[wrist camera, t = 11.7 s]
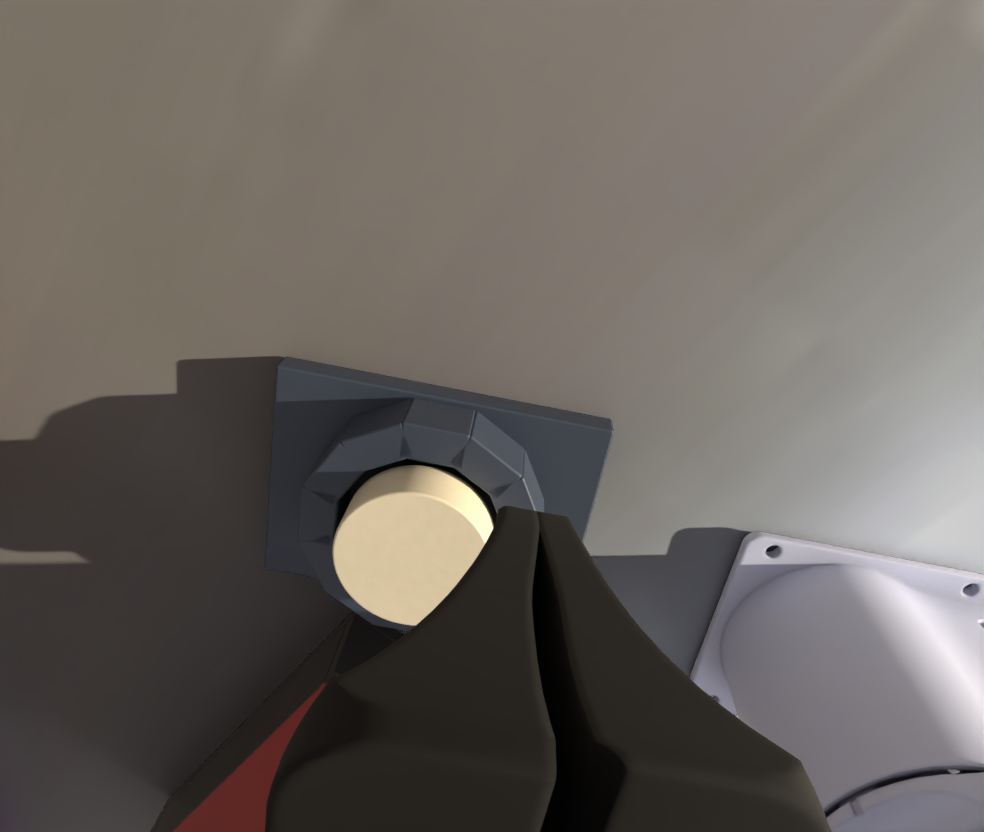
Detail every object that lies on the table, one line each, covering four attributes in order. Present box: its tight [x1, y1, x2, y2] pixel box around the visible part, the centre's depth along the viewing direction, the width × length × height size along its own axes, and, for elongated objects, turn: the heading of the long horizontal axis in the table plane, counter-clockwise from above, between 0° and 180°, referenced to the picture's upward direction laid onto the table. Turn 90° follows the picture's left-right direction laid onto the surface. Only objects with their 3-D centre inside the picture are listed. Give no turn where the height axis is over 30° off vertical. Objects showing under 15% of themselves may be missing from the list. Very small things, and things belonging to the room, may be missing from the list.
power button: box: [332, 465, 494, 626], centre depth 22 cm, size 5×5×2 cm
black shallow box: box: [151, 611, 403, 832], centre depth 30 cm, size 11×15×4 cm
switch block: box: [265, 357, 614, 632], centre depth 24 cm, size 11×8×3 cm
